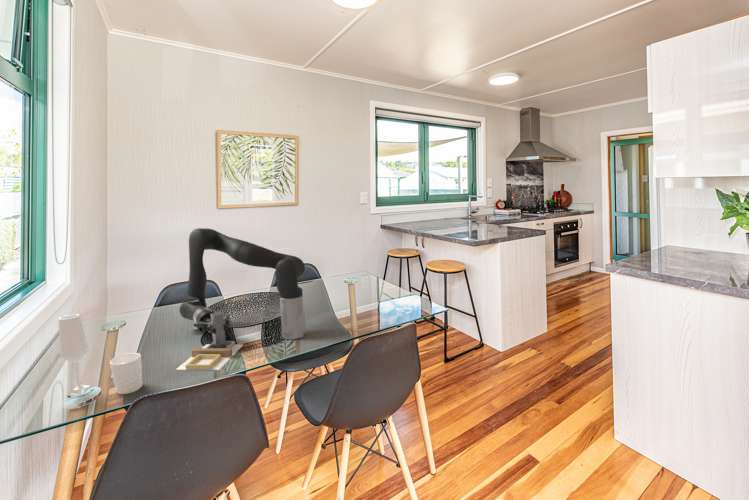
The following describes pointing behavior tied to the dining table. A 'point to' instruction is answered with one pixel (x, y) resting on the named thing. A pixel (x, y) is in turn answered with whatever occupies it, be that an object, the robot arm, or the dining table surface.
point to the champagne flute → (73, 343)
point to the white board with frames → (210, 357)
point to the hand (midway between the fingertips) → (220, 329)
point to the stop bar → (218, 330)
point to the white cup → (127, 372)
